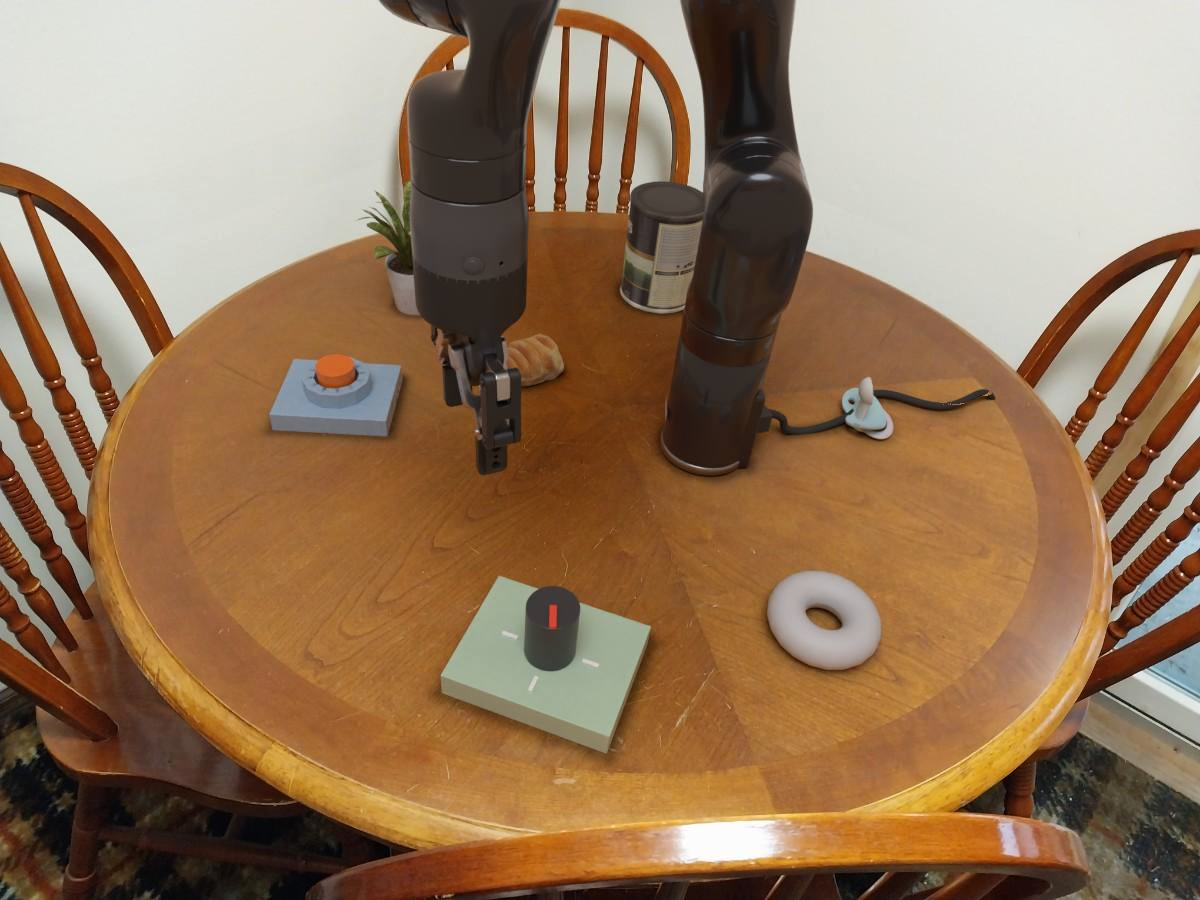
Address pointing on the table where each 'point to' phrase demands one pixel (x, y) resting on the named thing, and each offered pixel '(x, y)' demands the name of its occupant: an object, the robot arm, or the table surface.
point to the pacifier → (866, 411)
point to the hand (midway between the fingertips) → (474, 434)
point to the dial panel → (547, 698)
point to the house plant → (397, 252)
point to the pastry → (535, 359)
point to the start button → (335, 371)
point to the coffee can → (661, 245)
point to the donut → (814, 641)
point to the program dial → (551, 628)
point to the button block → (338, 401)
